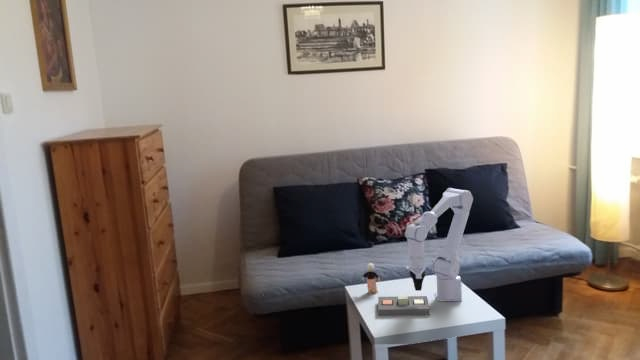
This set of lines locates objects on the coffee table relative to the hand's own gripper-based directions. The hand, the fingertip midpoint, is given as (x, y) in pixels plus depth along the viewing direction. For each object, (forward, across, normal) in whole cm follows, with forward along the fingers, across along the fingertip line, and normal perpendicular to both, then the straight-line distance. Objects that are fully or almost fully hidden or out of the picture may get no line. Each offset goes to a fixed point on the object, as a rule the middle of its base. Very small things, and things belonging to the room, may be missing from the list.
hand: (418, 289), depth 194 cm
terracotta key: (+7, 0, -12) cm, 14 cm away
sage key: (+5, 0, -6) cm, 8 cm away
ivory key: (+7, 0, 0) cm, 7 cm away
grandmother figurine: (+8, -17, -18) cm, 26 cm away
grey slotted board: (+7, 0, -6) cm, 9 cm away
